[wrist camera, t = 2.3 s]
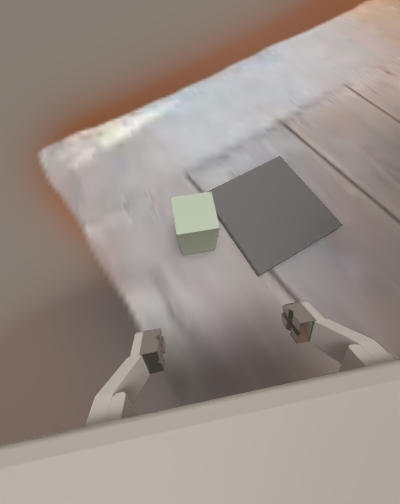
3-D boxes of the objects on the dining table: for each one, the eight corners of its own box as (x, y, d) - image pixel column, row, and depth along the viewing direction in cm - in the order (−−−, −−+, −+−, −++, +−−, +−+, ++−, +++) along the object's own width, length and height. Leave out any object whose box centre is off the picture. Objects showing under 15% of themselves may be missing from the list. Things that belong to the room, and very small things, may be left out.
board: (277, 160, 34) (279, 156, 33) (337, 227, 29) (342, 225, 29) (203, 196, 31) (204, 193, 30) (258, 276, 27) (260, 275, 26)
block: (208, 222, 30) (211, 191, 22) (214, 250, 28) (219, 227, 21) (178, 226, 30) (171, 197, 22) (182, 255, 28) (176, 234, 20)
